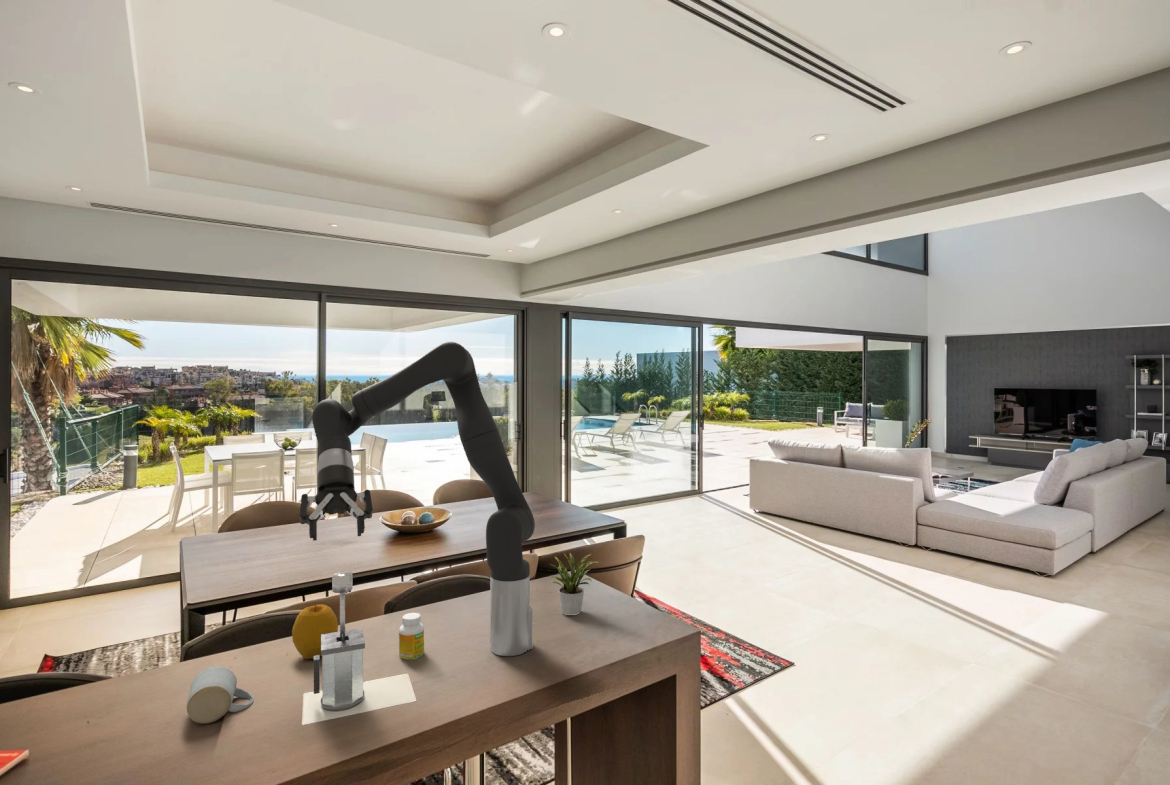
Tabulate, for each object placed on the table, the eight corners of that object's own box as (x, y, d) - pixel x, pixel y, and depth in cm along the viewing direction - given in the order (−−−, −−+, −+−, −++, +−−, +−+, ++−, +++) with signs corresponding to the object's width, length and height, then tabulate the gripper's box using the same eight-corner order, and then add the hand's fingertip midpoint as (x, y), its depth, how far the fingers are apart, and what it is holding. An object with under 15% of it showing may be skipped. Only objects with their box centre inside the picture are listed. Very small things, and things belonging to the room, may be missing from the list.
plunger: (356, 640, 118) (356, 568, 118) (358, 651, 114) (358, 576, 113) (327, 644, 116) (326, 572, 116) (327, 656, 111) (327, 580, 111)
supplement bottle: (416, 665, 132) (416, 621, 132) (394, 662, 133) (394, 619, 133) (428, 654, 137) (428, 612, 137) (406, 652, 138) (406, 610, 138)
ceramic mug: (184, 731, 106) (185, 688, 106) (190, 709, 114) (191, 669, 114) (252, 717, 111) (253, 676, 111) (253, 696, 119) (254, 658, 118)
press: (362, 686, 120) (362, 627, 120) (365, 705, 113) (365, 643, 113) (314, 696, 116) (313, 635, 116) (313, 716, 109) (313, 651, 109)
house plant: (606, 605, 168) (606, 547, 167) (596, 624, 154) (596, 561, 154) (557, 601, 171) (557, 544, 171) (543, 619, 157) (543, 558, 157)
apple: (319, 668, 130) (319, 615, 130) (281, 663, 132) (281, 611, 132) (346, 649, 139) (346, 599, 139) (310, 645, 142) (310, 596, 141)
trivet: (407, 678, 126) (407, 673, 126) (416, 706, 115) (416, 700, 115) (303, 698, 118) (303, 693, 118) (302, 730, 107) (302, 725, 107)
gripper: (368, 481, 139) (372, 542, 128) (300, 485, 133) (299, 549, 122) (370, 461, 134) (374, 523, 123) (300, 464, 128) (298, 529, 118)
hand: (337, 536), depth 123 cm, fingers open, 8 cm apart
